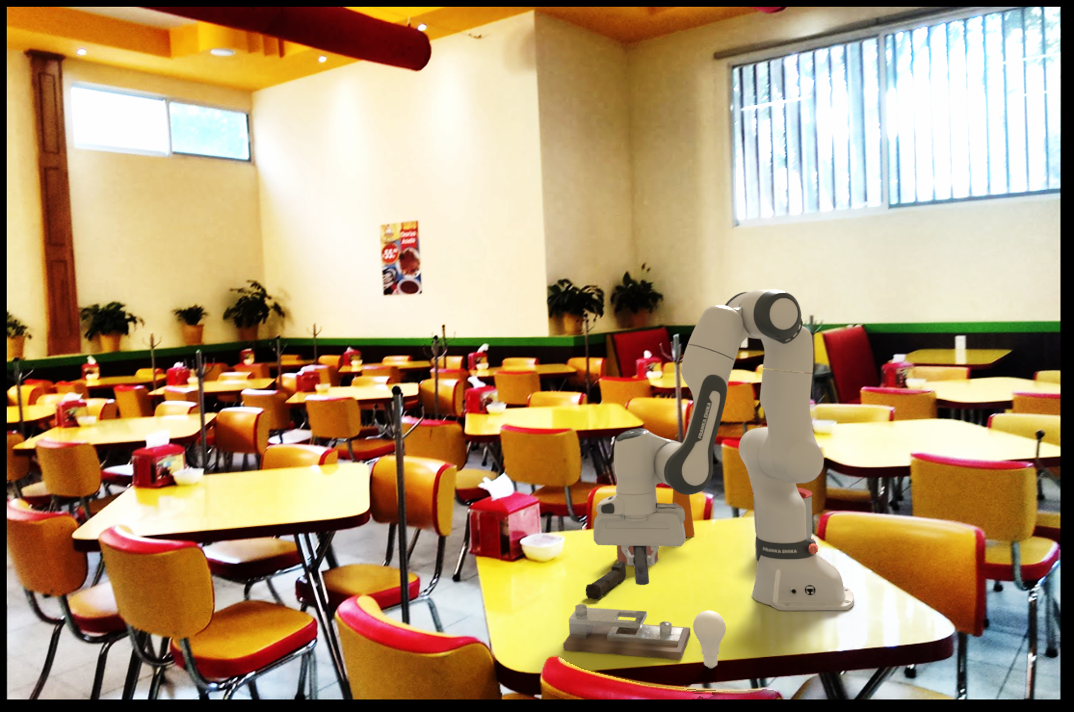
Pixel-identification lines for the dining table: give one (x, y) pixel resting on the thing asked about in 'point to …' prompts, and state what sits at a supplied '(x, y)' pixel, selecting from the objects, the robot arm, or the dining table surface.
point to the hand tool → (606, 581)
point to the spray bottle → (686, 505)
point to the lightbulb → (709, 635)
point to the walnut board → (625, 645)
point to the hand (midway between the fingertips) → (641, 564)
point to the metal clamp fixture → (622, 626)
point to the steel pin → (641, 565)
